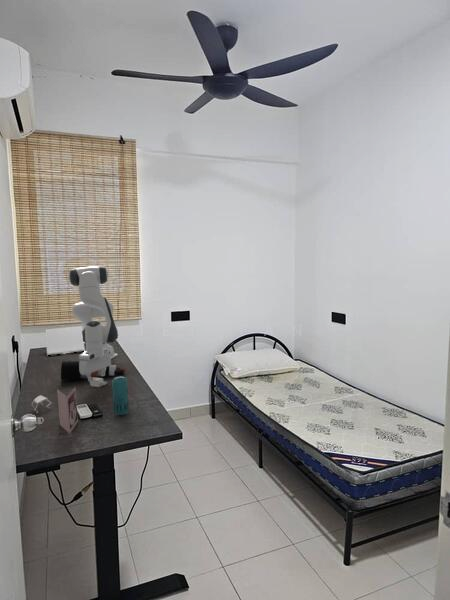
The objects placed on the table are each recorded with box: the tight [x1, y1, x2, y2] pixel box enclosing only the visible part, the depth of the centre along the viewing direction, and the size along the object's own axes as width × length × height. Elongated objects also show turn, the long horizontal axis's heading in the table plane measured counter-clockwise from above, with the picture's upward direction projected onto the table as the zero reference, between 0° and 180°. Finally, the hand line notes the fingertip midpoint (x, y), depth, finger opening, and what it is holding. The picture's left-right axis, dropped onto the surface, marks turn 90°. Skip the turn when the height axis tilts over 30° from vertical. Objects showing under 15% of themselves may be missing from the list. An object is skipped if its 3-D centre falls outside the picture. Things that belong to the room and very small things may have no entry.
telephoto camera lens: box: [60, 360, 126, 381], centre depth 226 cm, size 10×34×10 cm, turn 104°
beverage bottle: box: [111, 369, 130, 416], centre depth 170 cm, size 6×7×20 cm
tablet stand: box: [45, 325, 86, 357], centre depth 290 cm, size 18×25×17 cm
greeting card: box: [57, 387, 79, 434], centre depth 160 cm, size 11×7×15 cm, turn 5°
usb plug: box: [89, 377, 108, 388], centre depth 212 cm, size 10×4×4 cm, turn 66°
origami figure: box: [31, 395, 53, 414], centre depth 182 cm, size 12×8×5 cm
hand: (96, 378), depth 212 cm, fingers open, 8 cm apart
